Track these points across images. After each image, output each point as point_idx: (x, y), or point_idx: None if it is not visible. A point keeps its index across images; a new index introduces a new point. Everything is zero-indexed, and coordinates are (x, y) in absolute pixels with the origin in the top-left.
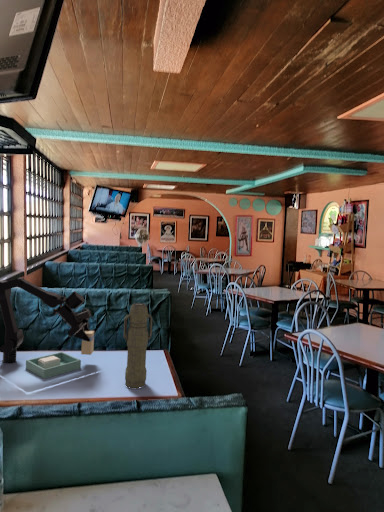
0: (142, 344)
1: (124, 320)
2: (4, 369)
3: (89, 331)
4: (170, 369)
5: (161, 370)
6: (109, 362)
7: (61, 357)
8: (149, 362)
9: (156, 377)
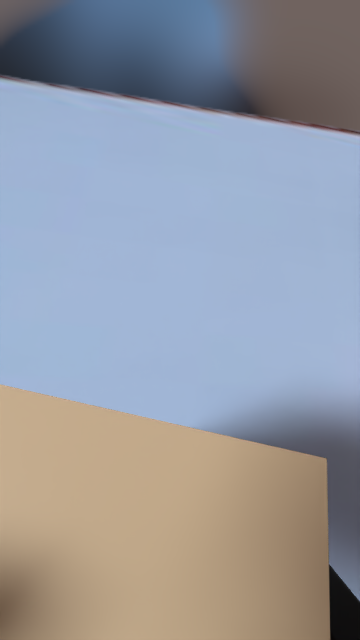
0: None
1: None
2: None
3: (28, 550)
4: (240, 114)
5: (251, 141)
6: (100, 343)
7: None
8: (141, 156)
9: (332, 172)
